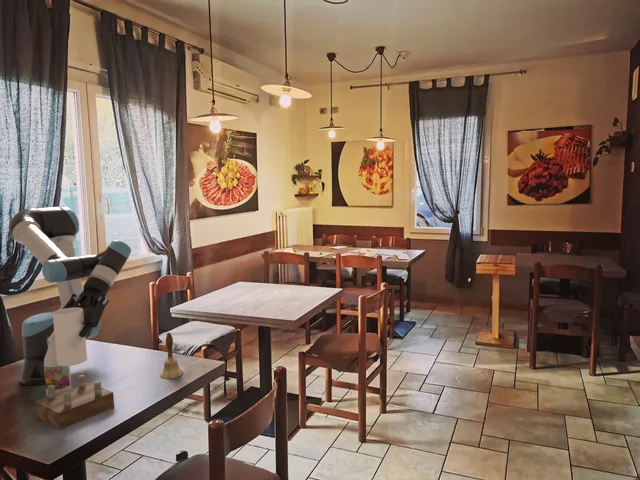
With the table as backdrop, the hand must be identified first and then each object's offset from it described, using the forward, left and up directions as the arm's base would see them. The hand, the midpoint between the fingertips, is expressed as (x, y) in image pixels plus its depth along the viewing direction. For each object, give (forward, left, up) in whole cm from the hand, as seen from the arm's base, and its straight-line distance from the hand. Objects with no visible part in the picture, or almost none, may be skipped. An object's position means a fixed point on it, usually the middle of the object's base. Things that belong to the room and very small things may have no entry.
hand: (62, 344), depth 146 cm
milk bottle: (-20, +7, -23) cm, 31 cm away
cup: (-1, +3, -7) cm, 7 cm away
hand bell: (-1, +39, -23) cm, 46 cm away
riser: (-1, +3, -23) cm, 23 cm away
